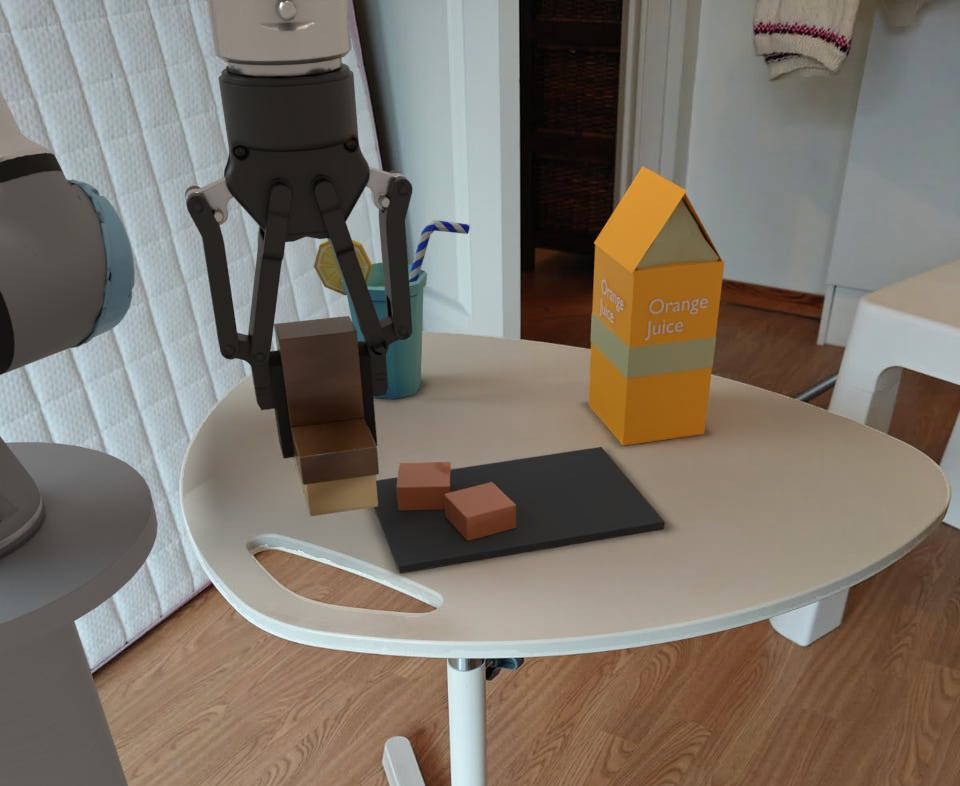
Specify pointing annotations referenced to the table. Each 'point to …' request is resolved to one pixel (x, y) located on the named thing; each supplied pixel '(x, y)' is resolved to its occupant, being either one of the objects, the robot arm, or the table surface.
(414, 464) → the clay chunk
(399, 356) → the cup
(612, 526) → the mat
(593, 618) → the table surface
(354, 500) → the three-tone stepped block
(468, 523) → the clay chunk
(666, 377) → the orange juice
